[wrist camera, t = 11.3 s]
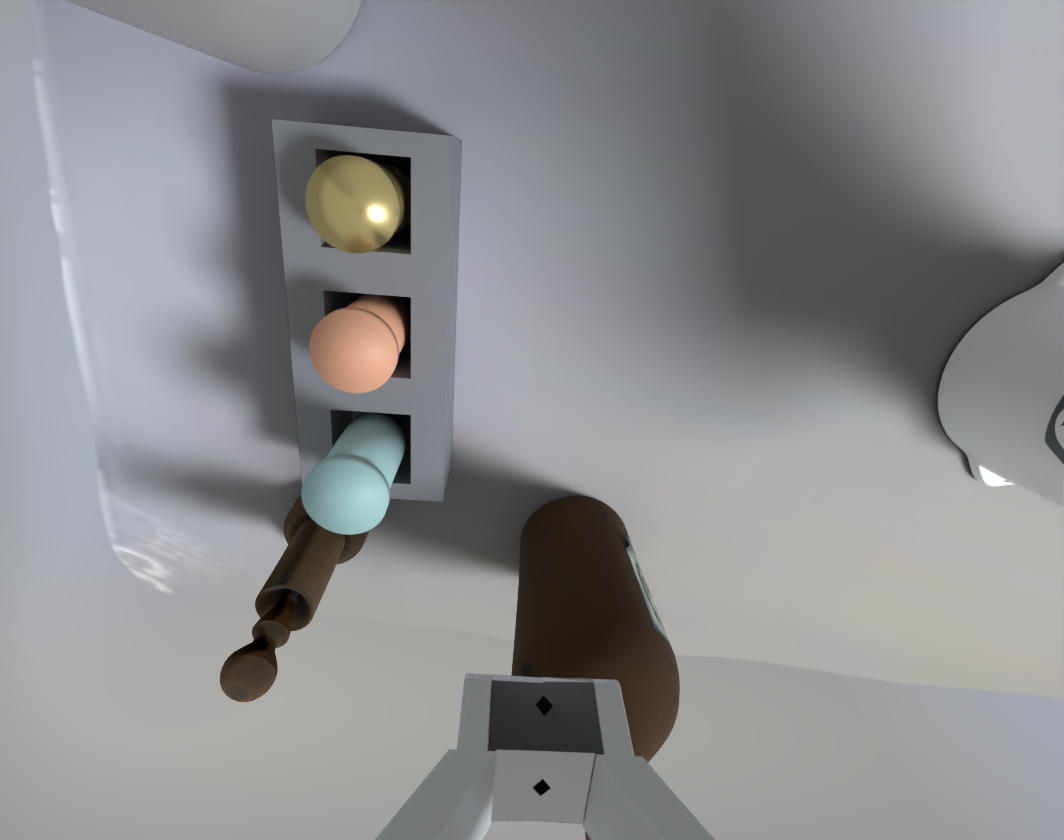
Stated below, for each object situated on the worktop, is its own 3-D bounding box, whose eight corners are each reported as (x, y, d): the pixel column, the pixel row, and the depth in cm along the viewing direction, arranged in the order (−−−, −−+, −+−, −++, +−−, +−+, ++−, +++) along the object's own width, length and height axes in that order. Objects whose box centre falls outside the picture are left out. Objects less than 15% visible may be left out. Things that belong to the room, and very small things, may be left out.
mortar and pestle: (339, 563, 51) (253, 749, 35) (277, 520, 49) (156, 695, 33) (386, 516, 49) (320, 690, 33) (324, 470, 48) (221, 629, 31)
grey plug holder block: (461, 141, 38) (451, 135, 33) (451, 463, 47) (442, 501, 42) (307, 126, 38) (271, 119, 32) (328, 455, 47) (302, 493, 41)
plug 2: (418, 288, 40) (395, 313, 33) (417, 357, 42) (396, 396, 35) (344, 282, 40) (306, 306, 32) (347, 352, 42) (312, 390, 34)
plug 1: (421, 162, 38) (398, 159, 30) (420, 241, 40) (398, 257, 32) (343, 155, 37) (301, 151, 30) (346, 235, 39) (308, 249, 32)
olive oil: (517, 593, 53) (516, 916, 30) (509, 492, 49) (501, 778, 26) (633, 586, 53) (721, 904, 30) (635, 485, 49) (739, 764, 26)
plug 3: (410, 411, 40) (386, 463, 33) (410, 475, 42) (388, 536, 35) (337, 406, 40) (298, 458, 33) (340, 470, 42) (304, 532, 35)
